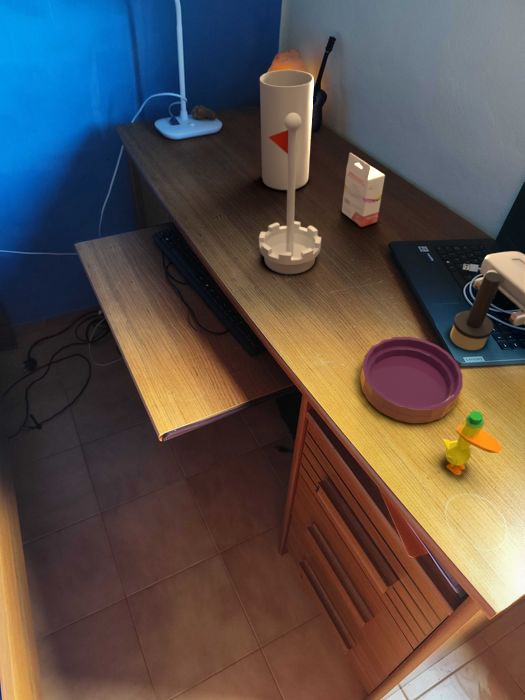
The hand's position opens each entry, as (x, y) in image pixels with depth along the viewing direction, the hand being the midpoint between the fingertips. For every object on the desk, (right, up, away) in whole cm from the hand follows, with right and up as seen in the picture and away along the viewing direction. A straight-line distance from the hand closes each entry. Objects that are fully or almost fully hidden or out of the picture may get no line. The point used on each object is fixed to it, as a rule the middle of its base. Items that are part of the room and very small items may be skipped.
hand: (493, 302), depth 78 cm
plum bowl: (-15, -14, -2) cm, 21 cm away
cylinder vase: (-33, +38, +48) cm, 70 cm away
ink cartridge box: (-16, +24, +34) cm, 45 cm away
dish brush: (-2, -6, +5) cm, 8 cm away
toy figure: (-12, -25, -12) cm, 30 cm away
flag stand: (-33, +12, +23) cm, 42 cm away
